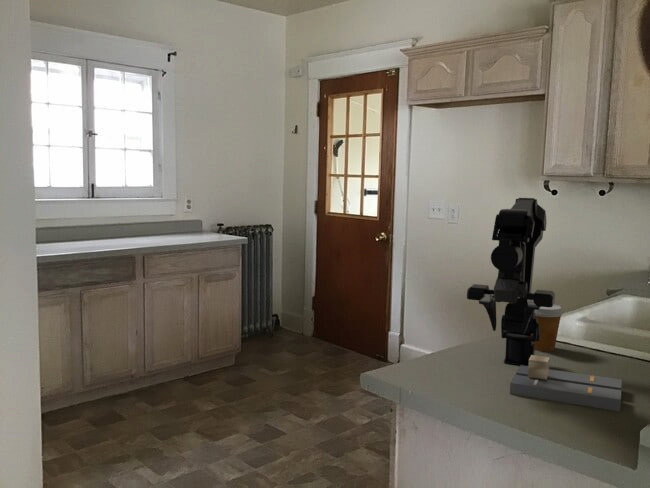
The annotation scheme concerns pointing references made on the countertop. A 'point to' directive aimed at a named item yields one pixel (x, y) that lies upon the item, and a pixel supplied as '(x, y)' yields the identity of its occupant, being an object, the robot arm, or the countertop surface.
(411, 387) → the countertop surface
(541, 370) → the fader knob
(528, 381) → the fader console
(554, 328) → the disposable coffee cup
